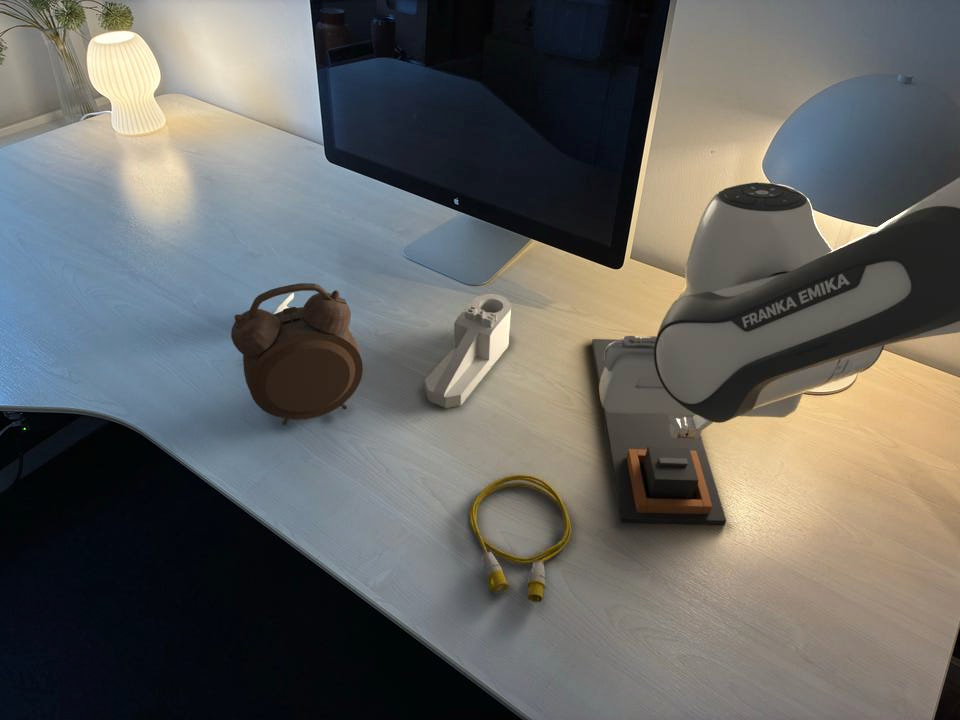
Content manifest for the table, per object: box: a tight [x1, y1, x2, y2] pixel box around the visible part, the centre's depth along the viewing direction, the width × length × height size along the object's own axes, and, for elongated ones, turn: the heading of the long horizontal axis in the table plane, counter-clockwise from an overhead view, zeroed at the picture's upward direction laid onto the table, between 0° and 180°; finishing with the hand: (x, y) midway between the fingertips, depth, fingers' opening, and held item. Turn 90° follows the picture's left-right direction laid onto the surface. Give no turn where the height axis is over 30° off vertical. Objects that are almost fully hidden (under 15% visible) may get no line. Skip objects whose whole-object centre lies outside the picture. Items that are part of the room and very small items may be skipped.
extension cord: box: [468, 474, 572, 603], centre depth 77 cm, size 12×16×2 cm
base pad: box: [591, 338, 727, 527], centre depth 90 cm, size 32×12×2 cm, turn 179°
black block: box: [642, 446, 699, 500], centre depth 80 cm, size 5×5×4 cm
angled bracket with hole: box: [424, 293, 512, 409], centre depth 96 cm, size 6×18×8 cm, turn 151°
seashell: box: [272, 292, 295, 315], centre depth 102 cm, size 8×5×8 cm
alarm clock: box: [230, 282, 364, 427], centre depth 85 cm, size 14×7×20 cm, turn 113°
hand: (683, 434), depth 76 cm, fingers closed
